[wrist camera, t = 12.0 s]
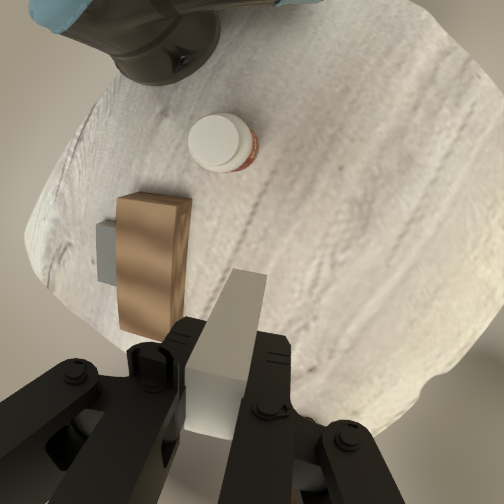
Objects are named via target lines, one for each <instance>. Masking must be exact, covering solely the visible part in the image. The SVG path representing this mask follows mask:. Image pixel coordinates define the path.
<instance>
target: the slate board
mask: <svg viewBox="0 0 504 504" xmlns="http://www.w3.org/2000/svg"><path fill="white" fill-rule="evenodd" d="M96 250H97V273H98V281H100V282H103V283H107V284H110V285H114V286H117V281H116V222H113V221H108V220H105V221H103V222H100V223H98V224H96Z"/></svg>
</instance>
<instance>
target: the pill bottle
mask: <svg viewBox="0 0 504 504" xmlns="http://www.w3.org/2000/svg"><path fill="white" fill-rule="evenodd" d="M188 148H189V151H190V153H191V155H192V156H193V158H194V159H195V160H196V161H197V163H198V164H199V165H201V166H202V167H203V168H205V169H206V170H209V171H211V172H216V173H227V172H235V171H240V170H243V169H245V168H247V167H248V166H249V165H251V164H252V162H253V161H254V160H255V158H256V156H257V154H258V149H259V144H258V139H257V137H256V135H255V133H254V132H253V130H252V129H251V128H250V127H249V126H248V125H247V124H246V123H245V122H244V121H243V120H242V119H240V118H239V117H237V116H235V115H233V114H230V113H223V112H221V113H214V114H211V115H208V116H206V117H203V118H201V119H200V120H198V121H197V122H196V123H195V124H194V125H193V126H192V128H191V130H190V132H189V135H188Z"/></svg>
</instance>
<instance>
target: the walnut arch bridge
mask: <svg viewBox="0 0 504 504" xmlns="http://www.w3.org/2000/svg"><path fill="white" fill-rule="evenodd" d="M191 206H192V199H187V198H180V197H173V196H166V195H158V194H151V193H143V192H137V193H133V194H129V195H126V196H122V197H118V198H117V207H116V281H117V299H118V313H119V324H120V329H121V330H124V331H127V332H130V333H133V334H136V335H139V336H143V337H146V338H149V339H153V340H156V341H160V342H163V340H165V337H166V336H167V334H168V333H169V332H170V330H171V328H172V327H173V325H174V324H175V322H177V321H179V320H180V319H182V318H183V305H184V287H185V273H186V259H187V247H188V236H189V225H190V215H191Z"/></svg>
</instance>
